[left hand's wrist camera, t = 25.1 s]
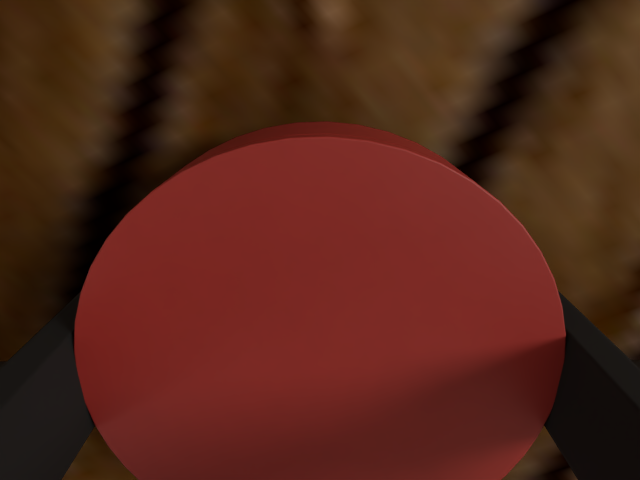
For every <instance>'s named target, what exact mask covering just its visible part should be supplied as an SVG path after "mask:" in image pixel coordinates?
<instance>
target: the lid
mask: <svg viewBox="0 0 640 480" xmlns="http://www.w3.org/2000/svg"><path fill="white" fill-rule="evenodd" d="M565 342H566V332H565V324H564V316H563V308H562V303H561V300H560V297H559V293H558V290H557V286H556V283H555V280H554V277H553V275H552V273H551V271H550V269H549V267H548V264H547V262H546V260H545V258H544V256H543V254H542V252H541V250H540V249H539V247H538V246H537V245H536V243H535V242H534V240H533V239H532V237H531V236H530V235H529V233H528V232H527V230H526V229H525V227H524V226H523V225H522V224H521V223H520V222H519V220H518V219H517V218H516V217H515V216H514V215H513V214H512V213H511V212H510V211H509V210H508V209H507V208H506V207H505V206H504V205H503V204H502V203H501V202H500V201H499V200H498V199H496V198H495V197H494V196H493V195H491V194H490V193H489V192H487V191H486V190H485V189H483V188H482V187H481V186H480V185H478V184H477V183H476V182H474V181H473V180H472V179H470V178H469V177H468V176H466V175H465V174H464V173H462V172H461V171H460V170H458V169H457V168H456V167H454V166H453V165H452V164H451V163H449V162H448V161H447V160H445V159H444V158H443V157H441V156H439V155H437V154H436V153H434V152H432V151H430V150H428V149H427V148H425V147H423V146H421V145H420V144H418V143H416V142H413V141H411V140H408V139H406V138H403V137H400V136H398V135H395V134H393V133H390V132H387V131H383V130H379V129H375V128H370V127H366V126H362V125H357V124H347V123H337V122H299V123H291V124H285V125H279V126H273V127H268V128H263V129H260V130H257V131H254V132H251V133H248V134H244V135H241V136H238V137H235V138H233V139H231V140H229V141H227V142H225V143H223V144H221V145H219V146H217V147H214V148H212V149H210V150H208V151H207V152H205V153H204V154H202V155H201V156H199V157H198V158H196V159H195V160H193V161H192V162H190V163H189V164H187V165H186V166H184V167H183V168H182V169H180V170H179V171H178V172H176V173H175V174H174V175H172V176H171V177H170V178H169V179H167V180H166V181H165V182H163V183H162V184H161V185H159V186H158V187H157V188H155V189H154V190H153V191H151V192H150V193H149V194H148V195H147V196H146V197H145V198H144V199H143V200H141V201H140V202H139V203H138V204H137V205H136V206H135V207H134V208H133V209H131V210H130V211H129V212H128V213H127V214H126V215H125V217H124V218H123V219H122V220H121V221H120V223H119V224H118V225H117V226H116V228H115V229H114V230H113V231H112V233H111V234H110V235H109V236H108V237H107V239H106V240H105V242H104V244H103V246H102V247H101V249H100V251H99V252H98V254H97V256H96V258H95V259H94V261H93V263H92V265H91V267H90V269H89V272H88V275H87V277H86V280H85V282H84V285H83V288H82V290H81V293H80V298H79V303H78V308H77V313H76V318H75V329H74V355H75V362H76V367H77V371H78V376H79V380H80V384H81V388H82V392H83V396H84V400H85V404H86V406H87V408H88V411H89V413H90V415H91V417H92V420H93V422H94V424H95V426H96V427H97V429H98V431H99V432H100V434H101V435H102V437H103V439H104V440H105V442H106V443H107V445H108V447H109V448H110V449H111V450H112V452H113V453H114V454H115V455H116V456H117V458H118V459H119V460H120V461H121V462H122V464H123V465H124V466H125V467H126V468H127V469H128V470H129V471H130V472H131V473H132V474H133V475H134V476H135V477H136V478H137V479H138V480H501V479H502V478H503V477H505V476H506V475H507V474H508V473H509V471H510V470H511V469H512V468H513V467H514V466H515V465H516V464H517V463H518V462H519V461H520V460H521V459H522V457H523V456H524V455H525V453H526V452H527V451H528V449H529V448H530V447H531V445H532V444H533V442H534V441H535V440H536V438H537V437H538V435H539V433H540V432H541V430H542V428H543V426H544V424H545V422H546V420H547V418H548V416H549V415H550V413H551V410H552V407H553V404H554V401H555V397H556V393H557V389H558V385H559V381H560V376H561V372H562V368H563V364H564V359H565Z"/></svg>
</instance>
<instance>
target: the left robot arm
mask: <svg viewBox="0 0 640 480" xmlns="http://www.w3.org/2000/svg"><path fill="white" fill-rule="evenodd" d="M80 293H81V292H80ZM80 293H79V294H78V295H77V296H76V297H74V298H73V299H72V300H71V301H70V302H69V303H68V304H67V305H66V306H65V307H64V308H63V309H62V310H61V311H60V312H59V313H58V314H57V315H56V316H55V317H53V318H52V319H51V320H50V321H49V322H48V323H47V324H46V325H45V326H44V327H43V328H42V329H41V330H40V331H39V332H38V333H37V334H36V335H35V336H33V337H32V338H31V339H30V340H29V341H28V342H27V343H26V344H25V345H24V346H23V347H22V348H21V349H20V350H19V351H18V352H17V353H16V354H15V355H14V356H12V357H11V358H10V359H9V360H8V361H7V362H0V480H62V478H63V476H64V475H65V473H66V471H67V470H68V468H69V467H70V465H71V463H72V462H73V460H74V459H75V457H76V455H77V454H78V452H79V451H80V449H81V447H82V446H83V444H84V443H85V441H86V439H87V438H88V436H89V434H90V433H91V431H92V430H93V428H94V426H95V424H94V422H93V420H92V417H91V415H90V413H89V411H88V408H87V406H86V404H85V400H84V396H83V392H82V388H81V384H80V380H79V376H78V371H77V367H76V362H75V355H74V329H75V318H76V313H77V308H78V303H79V298H80ZM558 293H559V297H560V300H561V303H562V308H563V316H564V324H565V332H566V342H565V359H564V364H563V368H562V372H561V376H560V381H559V385H558V389H557V393H556V397H555V401H554V404H553V407H552V410H551V413H550V415H549V416H548V418H547V420H546V422H545V424H544V426H545V427H546V429H547V430H548V432H549V434H550V435H551V437H552V438H553V440H554V442H555V443H556V445H557V447H558V448H559V450H560V451H561V453H562V455H563V456H564V458H565V459H566V461H567V463H568V464H569V466H570V467H571V469H572V471H573V472H574V474H575V476H576V477H577V479H578V480H640V360H630V359H629V358H628V357H627V356H626V355H625V354H624V353H623V352H622V351H621V350H620V349H619V348H618V347H616V346H615V345H614V344H613V343H612V342H611V341H610V340H609V339H608V338H607V337H606V336H605V335H604V334H603V333H602V332H601V331H600V330H599V329H598V328H596V327H595V326H594V325H593V324H592V323H591V322H590V321H589V320H588V319H587V318H586V317H585V316H584V315H583V314H582V313H581V312H580V311H579V310H578V309H577V308H575V307H574V306H573V305H572V304H571V303H570V302H569V301H568V300H567V299H566V298H565V297H564V296H563V295H562V294H561V293H560V292H559V291H558Z"/></svg>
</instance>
